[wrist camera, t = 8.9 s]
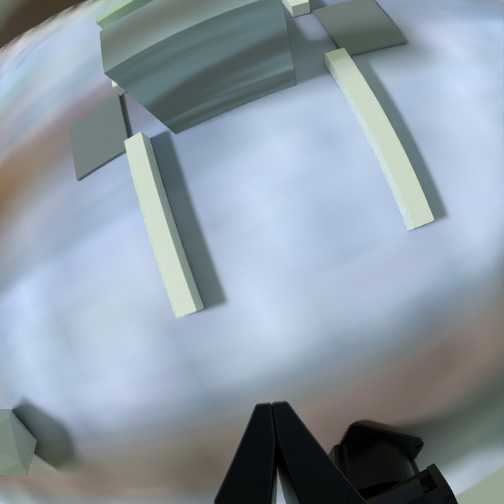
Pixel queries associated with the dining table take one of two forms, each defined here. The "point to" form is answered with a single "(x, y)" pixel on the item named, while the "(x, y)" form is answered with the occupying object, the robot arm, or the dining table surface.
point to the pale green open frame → (155, 196)
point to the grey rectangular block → (199, 56)
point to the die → (14, 445)
